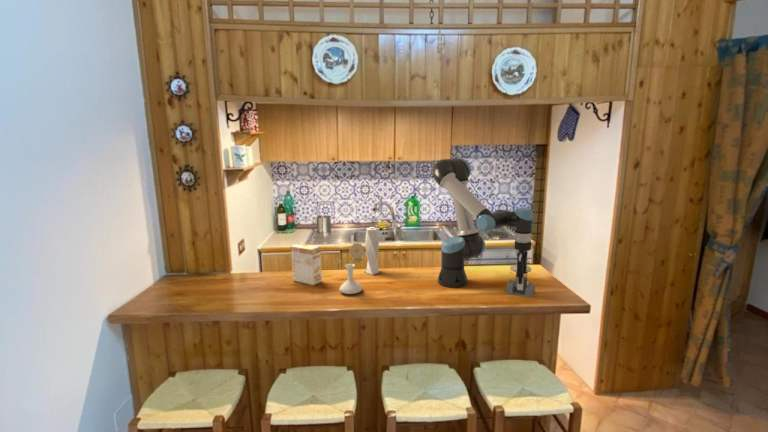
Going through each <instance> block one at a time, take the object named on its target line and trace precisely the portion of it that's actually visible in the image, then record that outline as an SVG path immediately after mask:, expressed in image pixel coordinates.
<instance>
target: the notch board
mask: <svg viewBox="0 0 768 432" xmlns="http://www.w3.org/2000/svg"><path fill="white" fill-rule="evenodd" d="M535 291H536V284H535V283H531V282H528V285H527V287H526V290H525V291H524V290H517V288H516V281H514V280H508V282H507V284H506V285H505V294H506V295H512V296H513V295H514V296H519V297H524V298H530V299H532V298H533V296H534V294H535Z"/></svg>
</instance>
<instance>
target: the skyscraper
mask: <svg viewBox="0 0 768 432" xmlns="http://www.w3.org/2000/svg"><path fill="white" fill-rule="evenodd" d="M379 240H380V239H379V232H378V227H377V224H376V225H375V226H369V227H366V231H365V242H364V243H365V244H364V245H365V254H366V258H367V264H366V268H365V269H366V271H364V272H363V273H364V274H367V275H370V276H374V275H378V274H380V273H382V271H381V270H379V264H378V255H379V249H380V246H379V245H380V242H379Z"/></svg>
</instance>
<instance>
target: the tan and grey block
mask: <svg viewBox="0 0 768 432" xmlns="http://www.w3.org/2000/svg"><path fill="white" fill-rule="evenodd" d="M523 277H524V283H523V290H524V291H525V290H526V287H527V282H528V273H527V274H526V273H525V274H523ZM517 278H518V277H517Z"/></svg>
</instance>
